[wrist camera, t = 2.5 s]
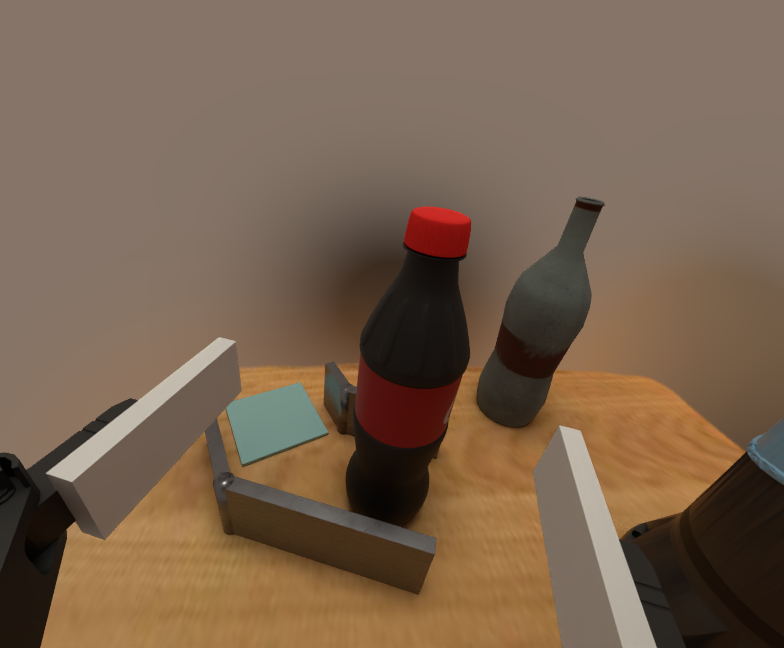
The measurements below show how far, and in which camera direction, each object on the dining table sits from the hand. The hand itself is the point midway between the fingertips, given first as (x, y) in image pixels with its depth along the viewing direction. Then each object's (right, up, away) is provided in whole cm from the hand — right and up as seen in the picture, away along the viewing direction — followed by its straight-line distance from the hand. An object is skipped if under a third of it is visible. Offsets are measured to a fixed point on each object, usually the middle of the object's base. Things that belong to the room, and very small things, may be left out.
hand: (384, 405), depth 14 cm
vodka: (+17, -9, +37) cm, 42 cm away
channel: (-8, -13, +25) cm, 29 cm away
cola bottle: (-1, -15, +22) cm, 27 cm away
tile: (-15, -9, +29) cm, 34 cm away
